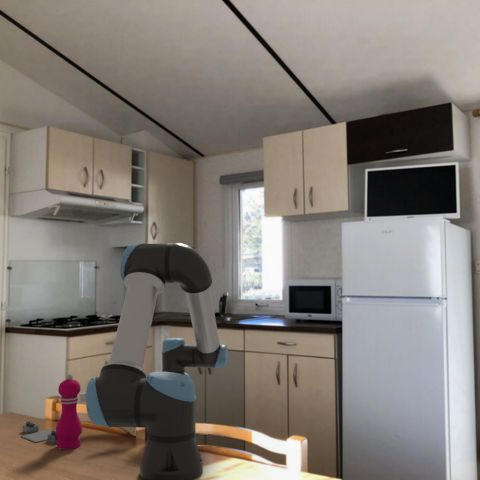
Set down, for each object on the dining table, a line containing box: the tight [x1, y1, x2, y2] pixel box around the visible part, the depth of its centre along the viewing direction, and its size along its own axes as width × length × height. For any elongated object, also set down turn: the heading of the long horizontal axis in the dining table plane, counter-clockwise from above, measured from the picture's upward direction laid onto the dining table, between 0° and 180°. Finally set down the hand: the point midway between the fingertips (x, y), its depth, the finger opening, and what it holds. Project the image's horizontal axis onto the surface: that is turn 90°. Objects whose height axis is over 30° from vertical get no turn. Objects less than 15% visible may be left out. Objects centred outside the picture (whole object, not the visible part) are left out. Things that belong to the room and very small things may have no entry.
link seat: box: [20, 429, 53, 444], centre depth 165 cm, size 9×9×1 cm
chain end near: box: [47, 429, 59, 445], centre depth 160 cm, size 4×3×3 cm
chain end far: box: [22, 421, 40, 435], centre depth 170 cm, size 4×3×3 cm
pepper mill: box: [55, 373, 83, 450], centre depth 156 cm, size 7×7×20 cm
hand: (92, 401), depth 162 cm, fingers open, 13 cm apart
